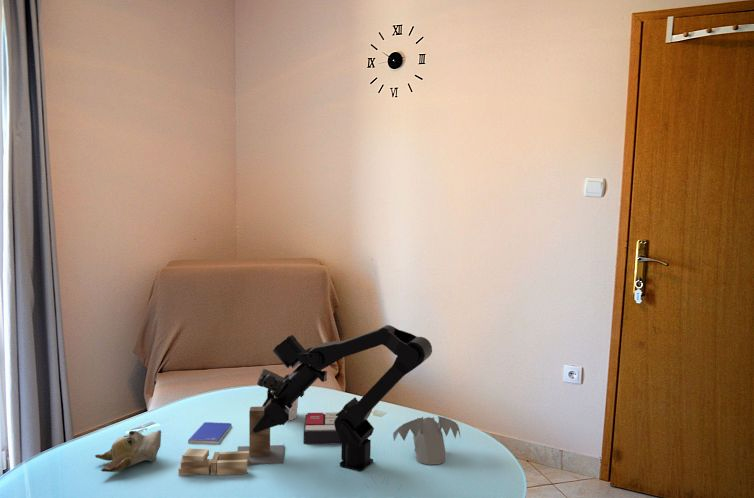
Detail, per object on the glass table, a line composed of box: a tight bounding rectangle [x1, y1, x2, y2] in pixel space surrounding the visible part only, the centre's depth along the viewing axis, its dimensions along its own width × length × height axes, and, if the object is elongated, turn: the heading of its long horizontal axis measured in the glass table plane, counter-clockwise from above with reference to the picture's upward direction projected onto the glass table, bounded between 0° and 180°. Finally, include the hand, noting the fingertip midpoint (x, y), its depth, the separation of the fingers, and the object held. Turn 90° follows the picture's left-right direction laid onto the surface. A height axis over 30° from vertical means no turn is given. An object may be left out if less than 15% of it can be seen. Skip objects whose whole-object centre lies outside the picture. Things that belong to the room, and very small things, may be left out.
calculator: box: [302, 411, 342, 445], centre depth 168 cm, size 11×4×15 cm
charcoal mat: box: [236, 444, 285, 465], centre depth 153 cm, size 12×10×1 cm
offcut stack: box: [177, 448, 212, 476], centre depth 144 cm, size 7×6×4 cm
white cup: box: [285, 398, 299, 422], centre depth 179 cm, size 8×8×10 cm
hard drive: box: [187, 421, 232, 445], centre depth 165 cm, size 2×8×12 cm
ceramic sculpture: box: [94, 429, 162, 473], centre depth 146 cm, size 11×9×15 cm
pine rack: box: [210, 450, 250, 476], centre depth 145 cm, size 8×6×3 cm
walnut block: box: [248, 406, 271, 457], centre depth 152 cm, size 5×3×12 cm, turn 96°
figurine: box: [392, 415, 462, 466], centre depth 155 cm, size 18×13×11 cm
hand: (255, 424), depth 152 cm, fingers open, 9 cm apart
